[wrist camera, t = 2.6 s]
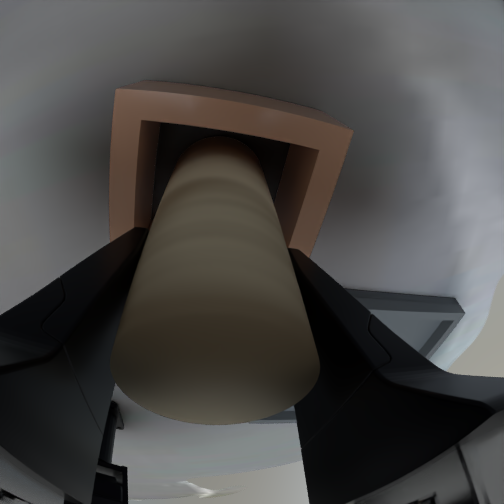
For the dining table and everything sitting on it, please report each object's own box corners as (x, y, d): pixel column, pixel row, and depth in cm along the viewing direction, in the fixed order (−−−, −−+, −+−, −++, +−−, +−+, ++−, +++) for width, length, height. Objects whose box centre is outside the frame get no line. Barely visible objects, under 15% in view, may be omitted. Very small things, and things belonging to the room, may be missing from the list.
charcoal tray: (370, 402, 30) (374, 415, 29) (247, 407, 28) (248, 423, 26) (455, 298, 21) (465, 313, 20) (301, 284, 19) (307, 305, 17)
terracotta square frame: (278, 253, 17) (291, 303, 14) (132, 233, 16) (112, 282, 13) (321, 110, 13) (353, 130, 10) (145, 80, 12) (115, 88, 8)
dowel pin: (252, 224, 15) (284, 426, 7) (169, 212, 14) (122, 414, 6) (272, 145, 13) (356, 321, 5) (179, 130, 12) (96, 294, 4)
